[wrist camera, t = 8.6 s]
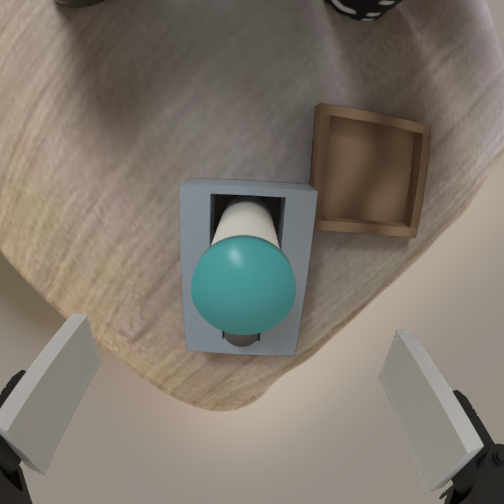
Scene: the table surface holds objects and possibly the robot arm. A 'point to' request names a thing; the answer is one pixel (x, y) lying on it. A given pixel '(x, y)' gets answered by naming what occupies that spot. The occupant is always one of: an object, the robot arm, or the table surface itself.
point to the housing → (290, 243)
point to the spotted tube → (362, 8)
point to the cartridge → (244, 272)
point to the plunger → (241, 339)
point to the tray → (368, 171)
